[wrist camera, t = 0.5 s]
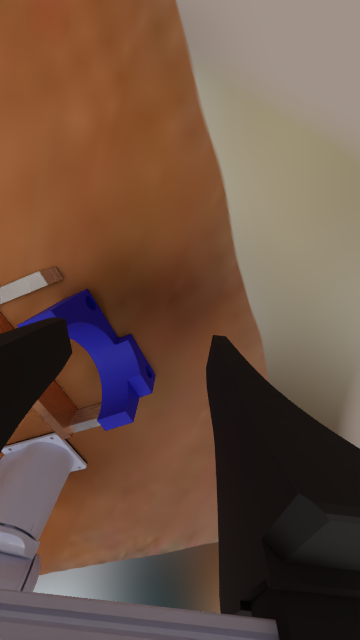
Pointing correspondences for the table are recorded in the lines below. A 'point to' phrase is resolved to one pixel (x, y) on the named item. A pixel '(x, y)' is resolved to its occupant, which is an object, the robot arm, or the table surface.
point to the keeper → (54, 400)
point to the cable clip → (105, 357)
